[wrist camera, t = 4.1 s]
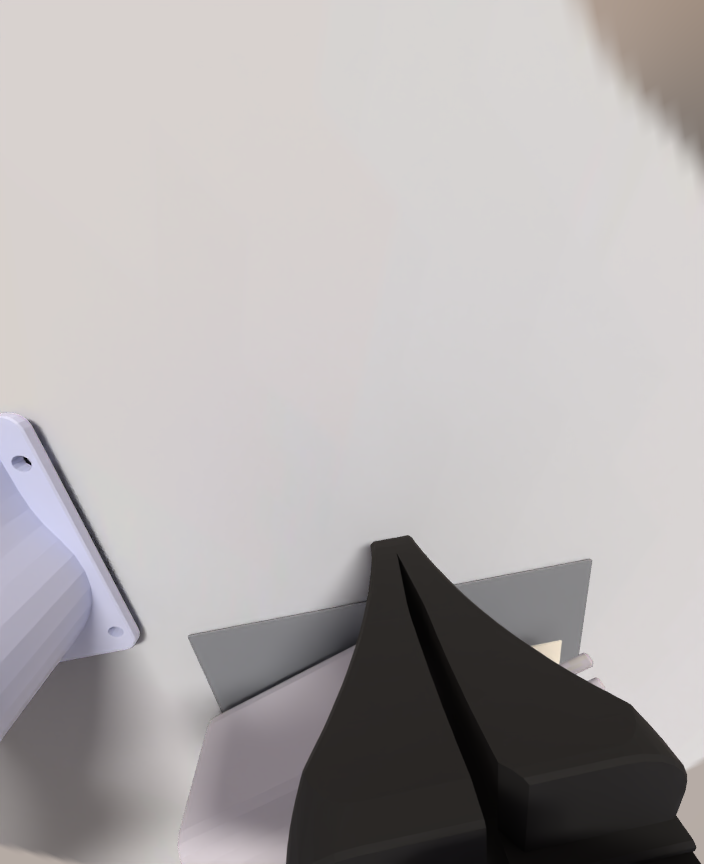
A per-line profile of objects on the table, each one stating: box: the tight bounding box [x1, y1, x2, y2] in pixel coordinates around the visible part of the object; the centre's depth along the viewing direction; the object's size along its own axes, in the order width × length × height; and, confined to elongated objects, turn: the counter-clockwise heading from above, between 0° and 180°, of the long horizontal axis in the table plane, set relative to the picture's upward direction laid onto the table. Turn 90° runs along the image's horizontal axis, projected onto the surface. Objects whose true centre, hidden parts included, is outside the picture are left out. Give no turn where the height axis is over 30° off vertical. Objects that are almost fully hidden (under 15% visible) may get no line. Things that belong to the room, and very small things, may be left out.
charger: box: [177, 645, 605, 864], centre depth 13 cm, size 5×9×15 cm
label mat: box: [188, 559, 592, 713], centre depth 17 cm, size 18×17×1 cm
